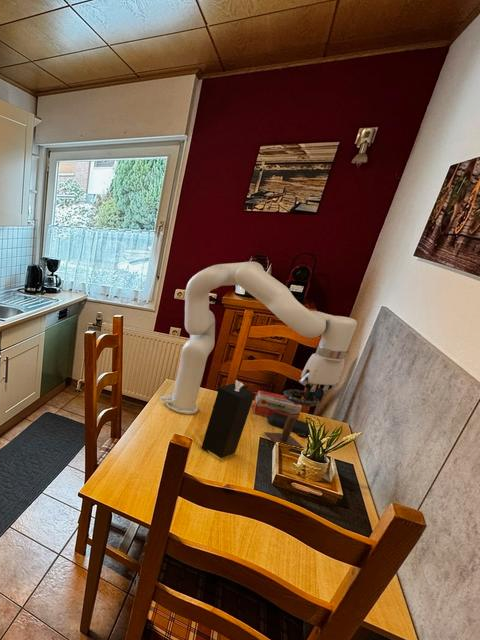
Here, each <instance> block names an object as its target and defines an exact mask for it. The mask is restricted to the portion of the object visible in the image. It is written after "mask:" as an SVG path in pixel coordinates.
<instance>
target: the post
mask: <svg viewBox="0 0 480 640" xmlns="http://www.w3.org/2000/svg"><path fill="white" fill-rule="evenodd" d="M296 418H297V417H296V416H293V415H289V416H288V418H287V421H286V424H285V426H284V429H282V431H281V432H270V431H268V432H267V431H265V432H264V433H263V434H264V435H265V436H266V437H267V438H268V439H269V440H270V441H271V442H272V443H273V444H275V443H276V442H280V443H283V444H286V445H290V446H295V447H299V448H303V449H304V448H305V447H304V446H303V445H302V444H301V443H300V442H299V441H297V440H296V439H295V438H294V437H293V436H292V435H291V433H292V432H291V431H292V428H293V426H294V423H295V421H296ZM299 448H298V449H299Z"/></svg>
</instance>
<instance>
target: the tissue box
mask: <svg viewBox="0 0 480 640" xmlns="http://www.w3.org/2000/svg"><path fill="white" fill-rule="evenodd" d="M244 386H245V384H244V383H243V382H241V381H239V380H238V379H235V383H230V384H227V385H223V386H219V387H218V389H217V394H216V397H215V400H214V403H213V406H212V409H211V414H210V417H209V420H208V424H207V426H206V430H205V433H204V437H203V440H202V443H201V449H202V450H203V451H205V452H207V453H208V454H209V453H212V454H214V455H215V456H217V457H218V458H220V459H224V458H227V457H228V456H231V455H234V454H236V453H237V449H238V445H239V444H240V443H239V442H240V440H241V437H242V434H243V431H244V428H245V425H246V422H247V419H248V417H249V414H250V411H251V408H252V404H253V403H254V400H255V398H256V392H254V391H251V390H249V389H246V388H245V387H244Z"/></svg>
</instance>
